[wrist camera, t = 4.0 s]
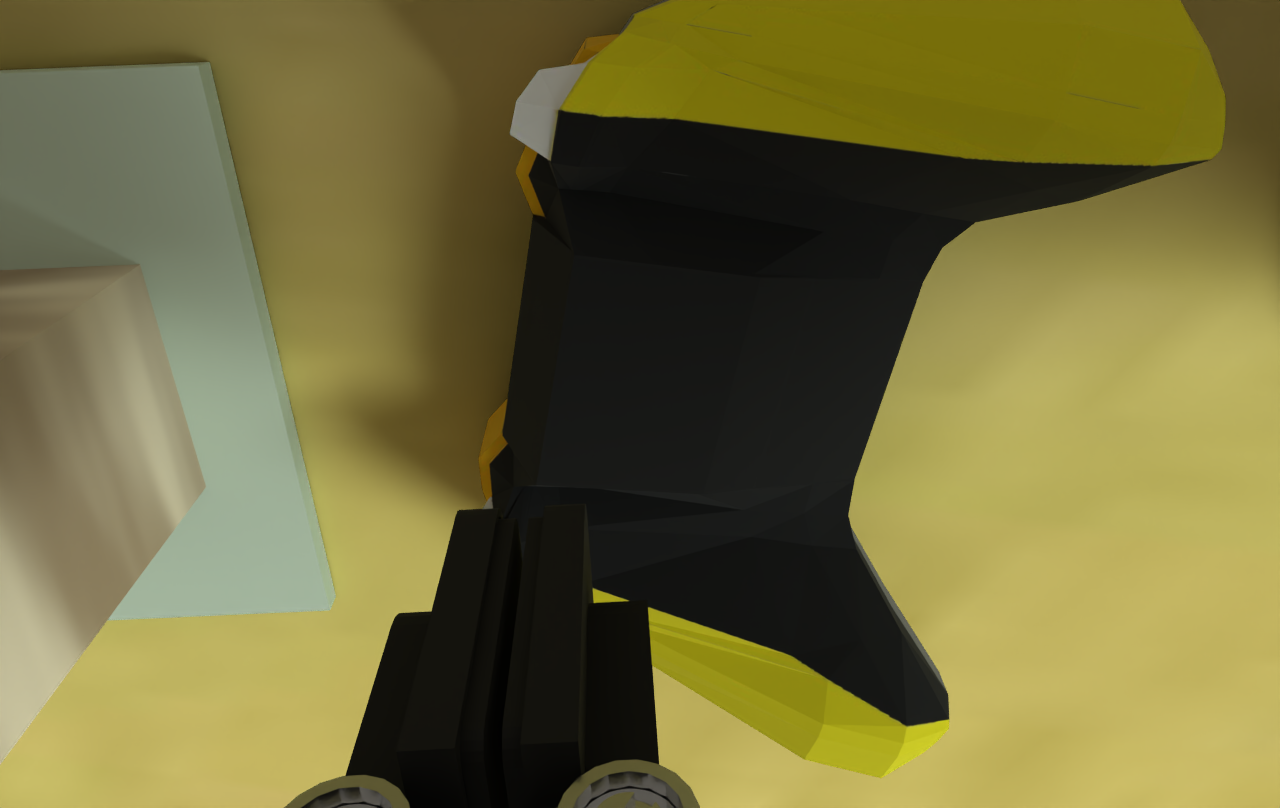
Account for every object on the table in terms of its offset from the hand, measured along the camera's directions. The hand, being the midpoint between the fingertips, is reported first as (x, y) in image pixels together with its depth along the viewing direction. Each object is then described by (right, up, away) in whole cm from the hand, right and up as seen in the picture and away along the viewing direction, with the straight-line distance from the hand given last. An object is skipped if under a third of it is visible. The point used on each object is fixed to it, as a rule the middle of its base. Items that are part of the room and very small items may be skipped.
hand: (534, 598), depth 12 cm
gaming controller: (+4, +4, +7) cm, 9 cm away
